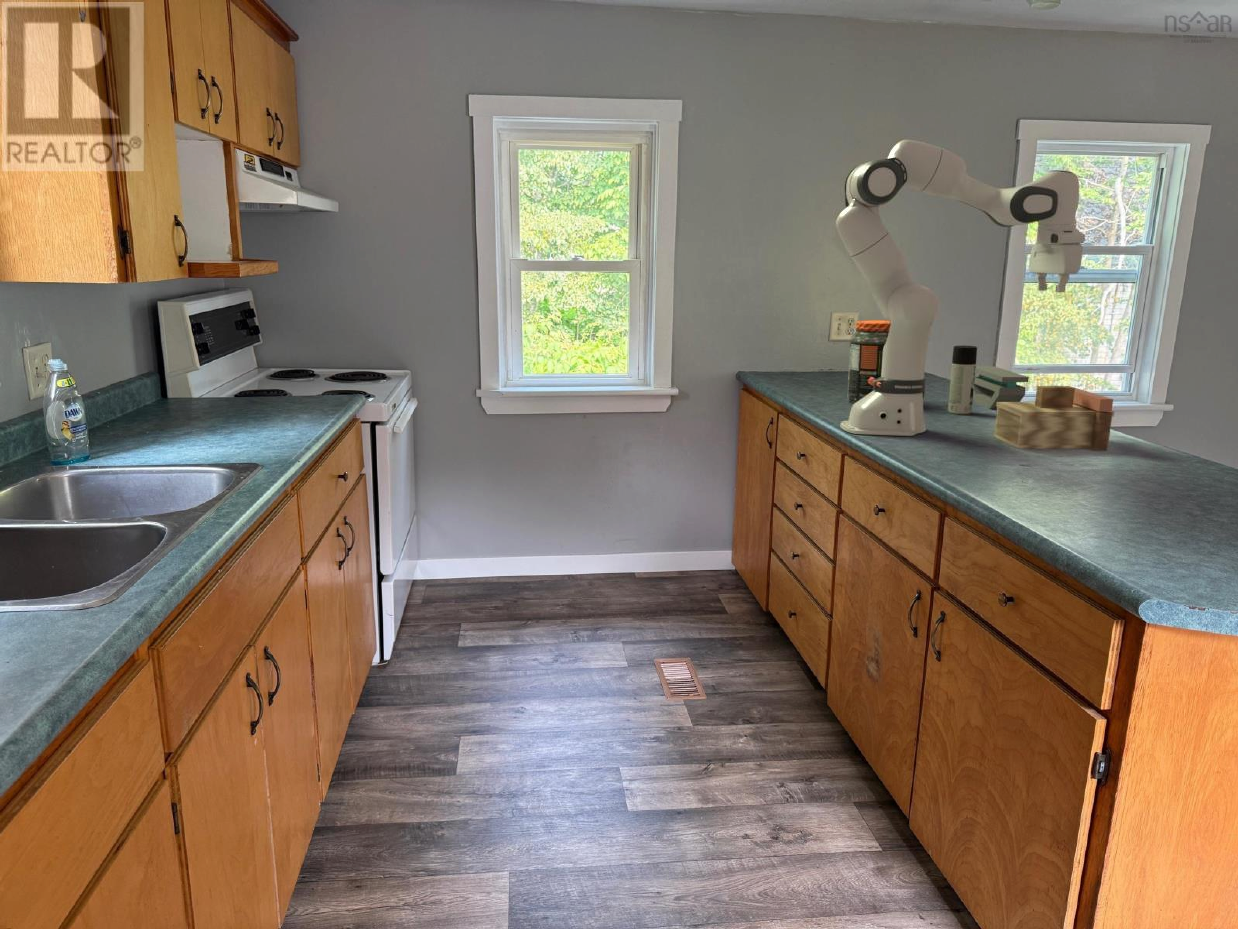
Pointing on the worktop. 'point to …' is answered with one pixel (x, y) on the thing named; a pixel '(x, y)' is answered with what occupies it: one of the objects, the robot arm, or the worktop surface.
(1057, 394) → the toolbox lid
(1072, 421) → the toolbox
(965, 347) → the spray can
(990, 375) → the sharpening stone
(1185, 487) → the worktop surface
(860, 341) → the supplement tub
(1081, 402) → the bar
